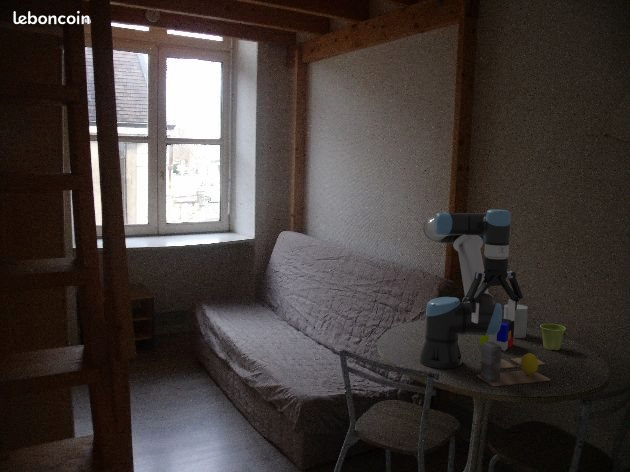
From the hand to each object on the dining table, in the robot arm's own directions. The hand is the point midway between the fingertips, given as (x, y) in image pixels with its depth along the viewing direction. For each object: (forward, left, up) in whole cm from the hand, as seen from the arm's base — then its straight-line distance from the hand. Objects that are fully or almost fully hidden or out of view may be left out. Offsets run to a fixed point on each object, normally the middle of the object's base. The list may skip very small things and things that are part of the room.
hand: (492, 321), depth 191 cm
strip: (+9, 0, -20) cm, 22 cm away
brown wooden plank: (+18, +13, -20) cm, 30 cm away
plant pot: (+44, +25, -20) cm, 54 cm away
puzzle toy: (+25, +34, -21) cm, 47 cm away
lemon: (+15, 0, -20) cm, 25 cm away
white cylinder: (+41, +45, -20) cm, 64 cm away
